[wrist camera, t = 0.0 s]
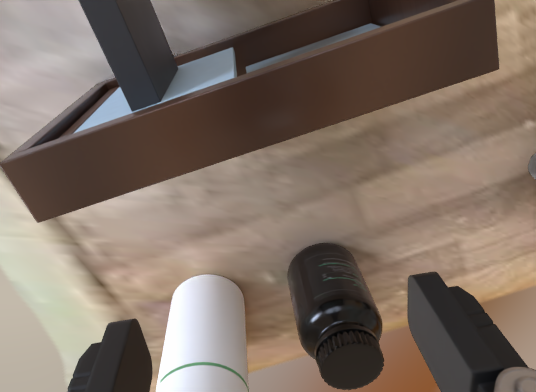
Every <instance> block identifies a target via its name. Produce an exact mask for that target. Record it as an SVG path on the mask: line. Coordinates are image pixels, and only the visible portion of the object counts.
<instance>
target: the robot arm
mask: <svg viewBox="0 0 536 392" xmlns="http://www.w3.org/2000/svg"><path fill="white" fill-rule="evenodd" d="M408 323H409V327H410V331H411V334H412V336H413V338H414V340H415V342H416V344H417V346H418V348H419V350H420V352H421V354H422V356H423V358H424V360H425V362H426V363H427V365H428V367H429V369H430V371H431V373H432V375H433V377H434V379H435V381H436V383H437V385H438V387H439V389H440V391H441V392H536V370H534V369H530V368H529V367H528V366H527V365H526V364H525V363H524V361H523V360H522V359H521V357H520V356H519V355H518V353H517V352H516V351H515V349H514V348H513V347H512V346H511V344H510V343H509V342H508V340H507V339H506V338H505V336H503V334H502V333H501V331H500V330H499V329H498V327H497V326H496V325H495V324H493V321H492V320H491V318H490V317H489V316H488V314H487V313H485V312H484V309H483V308H482V307H481V305H480V304H479V303H478V301H477V300H476V299H475V297H474V296H472V295H471V294H469V293H468V292H466V291H465V290H463V289H462V288H460V287H459V286H455V287H449V288H448V287H447V286H446V284H445V283H444V281H443V280H442V278H441V277H440V276H439V274H438V273H437V272H428V273H422V274H416V275H410V276H409V278H408ZM151 380H152V360H151V356H150V353H149V350H148V347H147V344H146V342H145V339H144V336H143V333H142V330H141V327H140V325H139V322H138V320H137V319H129V320H123V321H117V322H111V323H109V324H108V325H107V328H106V330H105V333H104V336H103V339H102V342H100V343H94V344H91V346H90V347H89V348H88V349H87V350H86V352H85V353H84V354H83V355H82V356H81V358H80V359H79V361H78V363H77V366H76V369H75V371H74V374H73V378H72V379H71V381H70V384H69V386H68V392H149V391H150V385H151Z"/></svg>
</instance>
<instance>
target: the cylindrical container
mask: <svg viewBox="0 0 536 392" xmlns="http://www.w3.org/2000/svg"><path fill="white" fill-rule="evenodd" d="M156 392H249V389H248V368H247V348H246V327H245V306H244V297H243V294H242V292H241V290H240V289H239V287H238V286H237V285H236V284H235V283H234V282H232V281H231V280H229V279H227V278H225V277H222V276H218V275H211V274H206V275H198V276H195V277H192V278H190V279H187V280H186V281H184V282H183V283H182V284H180V285H179V287H178V288H177V289H176V291H175V292H174V294H173V297H172V302H171V308H170V314H169V319H168V325H167V331H166V336H165V342H164V348H163V353H162V359H161V365H160V370H159V376H158V382H157V387H156Z"/></svg>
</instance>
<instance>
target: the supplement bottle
mask: <svg viewBox="0 0 536 392" xmlns="http://www.w3.org/2000/svg"><path fill="white" fill-rule="evenodd" d="M288 284H289V290H290V295H291V300H292V305H293V310H294V315H295V320H296V325H297V330H298V335H299V339H300V342H301V345H302V347H303V348H304V350H305V351H306V352H307V353H308V354H309V355H310V356H311V357H312V358H314V359H315V360H316V362H317V364H318V367H319V371H320V373H321V377H322V378H323V379H324V381H325V382H326V383H328V385H330V386H332V387H334V388H337V389H343V390H346V389H348V390H351V389H357V388H360V387H363V386H365V385H368V384H369V383H371V382H373V380H374V379H376V378H377V377H378V376H379V375H380V372H381V371H382V369H383V368H382V367H383V366H384V363H383V362H384V358H383V354H382V351H381V349H380V345H379V340H380V337H381V333H382V319H381V316H380V314H379V311H378V309H377V307H376V304H375V302H374V300H373V298H372V296H371V293H370V291H369V289H368V287H367V285H366V282H365V280H364V278H363V276H362V273H361V271H360V269H359V267H358V265H357V263H356V261H355V259H354V257H353V256H352V254H351V253H350V252H349V251H348V250H346V249H345V248H343V247H341V246H339V245H336V244H331V243H320V244H315V245H312V246H309V247H307V248H305V249H303V250H302V251H301V252H299V253H298V254H297V255H296V256H295V257H294V259H293V260H292V262H291V264H290V266H289V269H288Z"/></svg>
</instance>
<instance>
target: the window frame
mask: <svg viewBox="0 0 536 392" xmlns="http://www.w3.org/2000/svg"><path fill="white" fill-rule="evenodd" d="M231 47H233V49H234V52H235V61H236V72H237V77H235V78H232V79H229V80H226V81H223V82H220V83H218V84H215V85H212V86H209V87H206V88H203V89H200V90H197V91H194V92H192V93H189V94H186V95H183V96H180V97H177V98H174V99H171V100H168V101H166V102H163V103H160V104H157V105H154V106H151V107H148V108H145V109H142V110H140V111H137V112H134V113H131V114H128V115H125V116H122V117H119V118H116V119H114V120H111V121H108V122H105V123H102V124H99V125H96V126H93V127H90V128H88V129H85V130H82V131H79V132H76V133H73V134H70V135H67V136H64V137H61V138H59V137H60V136H61V135H62V134H63V133H65V132H66V131H67V130H68V129H69V128H70V127H71V126H72V125H73V124H74V123H75V122H76V121H77V120H78V119H79V118H80V117H81V116H82V115H84V114H85V113H86V112H87V111H88V110H89V109H90V108H91V107H92V106H93V105H94V104H95V103H96V102H97V101H98V100H99V99H100V98H101V97H102V96H104V95H105V94H106V93H107V92H108V91H109V90H110V89H113V88H115V87H120V86H119V84H118V82H117V79H116V77H115V78H113V79H110V80H107V81H104V82H101V83H98V84H96V85H95V86H94V87H93V88H91V89H90V90H89V91H88V92H87V93H85V94H84V95H83V96H82V97H80V98H79V99H78V100H77V101H75V102H74V103H73V104H72V105H71V106H69V107H68V108H67V109H66V110H64V111H63V112H62V113H61V114H59V115H58V116H57V117H56V118H55V119H53V120H52V121H51V122H50V123H48V124H47V125H46V126H45V127H44V128H42V129H41V130H40V131H39V132H37V133H36V134H35V135H34V136H32V137H31V138H30V139H29V140H28V141H26V142H25V143H24V144H23V145H21V146H20V147H19V148H18V149H16V150H15V151H14V152H13V153H12V154H10V155H9V156H8V157H6V158H5V159H4V160H3V161H2V162H0V167H1V169H2V170H3V172H4V173H5V175H6V176H7V178H8V179H9V181H10V182H11V184H12V185H13V187H14V188H15V190H16V191H17V193H18V194H19V196H20V197H21V199H22V200H23V202H24V203H25V205H26V206H27V208H28V209H29V211H30V212H31V214H32V215H33V217H34V219H35V220H36V222H38V223H39V222H42V221H45V220H48V219H51V218H54V217H57V216H60V215H63V214H66V213H69V212H72V211H75V210H78V209H81V208H84V207H87V206H90V205H93V204H96V203H99V202H102V201H105V200H108V199H111V198H114V197H117V196H120V195H123V194H126V193H129V192H132V191H135V190H138V189H141V188H144V187H147V186H150V185H153V184H156V183H159V182H162V181H165V180H168V179H171V178H174V177H177V176H180V175H183V174H186V173H189V172H192V171H195V170H198V169H201V168H204V167H207V166H210V165H213V164H216V163H219V162H222V161H225V160H228V159H231V158H234V157H237V156H240V155H243V154H246V153H249V152H252V151H255V150H258V149H261V148H264V147H267V146H270V145H273V144H276V143H279V142H282V141H285V140H288V139H291V138H294V137H297V136H300V135H303V134H306V133H309V132H312V131H315V130H318V129H321V128H324V127H327V126H330V125H333V124H336V123H339V122H342V121H345V120H348V119H351V118H354V117H357V116H360V115H363V114H366V113H369V112H372V111H375V110H378V109H381V108H384V107H387V106H390V105H393V104H396V103H399V102H402V101H405V100H408V99H411V98H414V97H417V96H420V95H423V94H426V93H429V92H432V91H435V90H438V89H441V88H444V87H447V86H450V85H454V84H457V83H460V82H463V81H466V80H469V79H472V78H475V77H478V76H481V75H484V74H487V73H490V72H493V71H496V70H498V69H499V58H498V45H497V31H496V17H495V3H494V0H333V1H331V2H328V3H325V4H322V5H319V6H316V7H314V8H311V9H308V10H305V11H302V12H300V13H297V14H294V15H291V16H288V17H285V18H283V19H280V20H277V21H274V22H271V23H268V24H266V25H263V26H260V27H257V28H254V29H251V30H249V31H246V32H243V33H240V34H237V35H234V36H232V37H229V38H226V39H223V40H220V41H217V42H215V43H212V44H209V45H206V46H203V47H200V48H198V49H195V50H192V51H189V52H186V53H183V54H181V55H178V56H175V57H174V59H175V62H176V64H177V66H180V65H183V64H186V63H189V62H192V61H194V60H197V59H200V58H203V57H206V56H209V55H211V54H214V53H217V52H220V51H223V50H226V49H229V48H231ZM58 138H59V139H58Z"/></svg>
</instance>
